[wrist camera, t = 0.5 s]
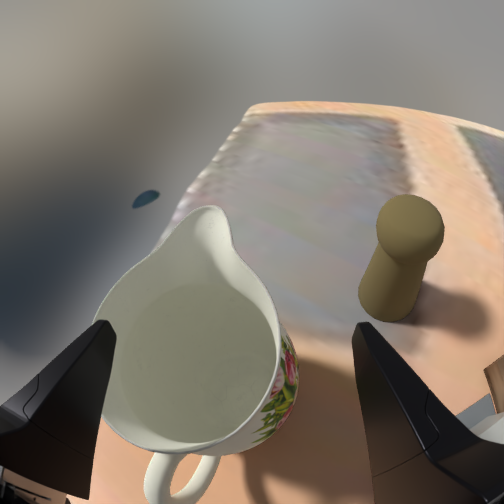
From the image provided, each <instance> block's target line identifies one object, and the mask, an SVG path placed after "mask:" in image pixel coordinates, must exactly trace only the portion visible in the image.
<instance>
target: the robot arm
mask: <svg viewBox="0 0 504 504" xmlns="http://www.w3.org/2000/svg"><path fill="white" fill-rule="evenodd" d="M116 341H117V335H116V332H115V331H114V329H113V327H112V325H111V324H110V322H109V321H108V320H102V319H99V320H97V321H96V322H95V323H94V324H93V325H91V326H90V327H89V328H88V329H87V330H86V331H85V332H84V333H82V334H81V335H80V336H79V337H78V338H77V339H76V340H74V341H73V342H72V343H71V344H70V345H69V346H68V347H67V348H65V349H64V350H63V351H62V352H61V353H60V354H59V355H58V356H57V357H56V358H54V360H52V361H51V362H50V363H49V364H48V365H47V366H46V367H45V368H44V369H43V370H42V371H41V372H40V373H39V374H37V375H36V376H35V377H34V378H33V379H32V380H31V381H30V382H29V383H28V384H27V385H26V386H24V387H23V388H22V389H21V390H20V391H18V392H17V393H16V394H15V395H13V396H12V397H11V398H10V399H9V400H7V401H6V402H5V403H4V404H2V405H1V406H0V504H71V503H70V501H69V499H68V498H66V495H67V494H69V495H72V496H75V497H79V498H82V499H86V500H89V494H90V484H91V475H92V467H93V459H94V453H95V447H96V441H97V435H98V430H99V424H100V419H101V414H102V410H103V405H104V401H105V396H106V392H107V388H108V384H109V380H110V375H111V371H112V365H113V358H114V352H115V347H116ZM352 348H353V357H354V367H355V378H356V384H357V389H358V394H359V399H360V405H361V410H362V415H363V421H364V426H365V432H366V438H367V445H368V451H369V458H370V465H371V473H372V477H373V478H372V482H373V491H374V501H375V504H504V444H501V443H496V442H492V441H488V440H484V439H482V438H480V437H478V436H477V435H475V434H474V433H473V432H472V431H470V430H469V429H468V428H467V427H466V426H465V425H464V424H463V423H462V422H461V421H460V420H459V419H458V418H457V417H456V416H455V415H454V414H452V413H451V412H450V411H449V410H448V409H447V408H446V407H445V406H444V405H443V403H442V402H441V401H440V400H439V399H438V398H437V397H436V396H435V394H434V393H433V392H432V391H431V390H430V389H429V388H428V387H427V385H426V384H425V383H424V382H423V381H422V380H421V378H420V377H419V376H418V375H417V374H416V373H415V372H414V371H413V369H412V368H411V367H410V366H409V365H408V364H407V363H406V362H405V360H404V359H403V358H402V357H401V356H400V355H399V354H398V353H397V352H396V350H395V349H394V348H393V347H392V346H391V345H390V344H389V343H388V342H387V341H386V340H385V338H384V337H383V336H382V335H381V334H380V333H379V332H378V331H377V330H376V329H375V328H374V327H373V326H372V324H371V323H369V322H359V323H357V325H356V328H355V331H354V334H353V337H352Z"/></svg>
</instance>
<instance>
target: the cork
mask: <svg viewBox="0 0 504 504" xmlns="http://www.w3.org/2000/svg"><path fill="white" fill-rule="evenodd" d="M444 228H445V227H444V224H443V220H442V217H441V214H440V213H439V211H438V210H437V208H436V207H435V206H434V205H433V204H431V203H430V202H429V201H427V200H425V199H423V198H421V197H418V196H415V195H407V194H404V195H398V196H396V197H394V198H392V199H390V200H389V201H387V202H386V204H385V205H384V206H383V207H382V208H381V210H380V212H379V215H378V219H377V224H376V229H377V237H378V241H379V243H378V245H377V248H376V250H375V252H374V254H373V257H372V259H371V261H370V263H369V265H368V268H367V270H366V272H365V274H364V276H363V278H362V280H361V283H360V286H359V294H358V297H359V300H360V303H361V305H362V307H363V308H364V310H365V311H366V312H367V313H368V314H369V315H371V316H372V317H373V318H375V319H378V320H380V321H383V322H394V321H398V320H401V319H403V318H404V317H406V316H407V315H408V314H409V313H410V312H411V310H412V309H413V307H414V305H415V302H416V299H417V296H418V293H419V289H420V286H421V283H422V279H423V276H424V273H425V269H426V265H427V262H428V261H429V260H430V259H431V258H433V257H434V256H435V255H436V254H437V252H438V250H439V249H440V247H441V245H442V243H443V239H444Z"/></svg>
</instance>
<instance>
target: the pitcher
mask: <svg viewBox="0 0 504 504" xmlns="http://www.w3.org/2000/svg"><path fill="white" fill-rule="evenodd" d="M99 319H102V320H108V321H109V322H110V324H111V325H112V327H113V329H114V331H115V332H116V335H117V341H116V347H115V352H114V358H113V365H112V371H111V375H110V380H109V384H108V388H107V392H106V396H105V401H104V405H103V410H102V414H101V417H102V418H103V419H104V421H105V422H106V423H107V424H108V425H109V426H110V428H111V429H112V430H113V431H114V432H116V433H117V434H118V435H119V436H121V437H122V438H123V439H125V440H126V441H128V442H130V443H132V444H133V445H135V446H137V447H140V448H142V449H145V450H148V451H152V452H155V454H154V456H153V458H152V459H151V461H150V464H149V466H148V469H147V472H146V474H145V479H144V493H145V496H146V498H147V500H148V502H149V503H150V504H195V503H196V502H197V501H199V499H200V498H201V497H202V496H203V494H204V493H205V491H206V490H207V488H208V486H209V485H210V483H211V481H212V479H213V477H214V475H215V473H216V470H217V467H218V465H219V462H220V459H221V456H223V455H230V454H235V453H239V452H242V451H245V450H248V449H251V448H253V447H255V446H257V445H259V444H261V443H262V442H264V441H265V440H267V439H268V438H269V437H271V436H272V435H273V434H274V433H275V432H276V431H277V430H278V429H279V428H280V427H281V426H282V425H283V423H284V422H285V421H286V419H287V418H288V416H289V414H290V412H291V411H292V408H293V406H294V403H295V401H296V397H297V393H298V386H299V366H298V361H297V356H296V352H295V349H294V346H293V344H292V341H291V339H290V337H289V336H288V334H287V332H286V330H285V328H284V327H283V325H282V324H281V323H280V321H279V318H278V313H277V310H276V308H275V305H274V302H273V299H272V297H271V295H270V294H269V292H268V290H267V288H266V286H265V285H264V284H263V282H262V281H261V279H260V278H259V277H258V276H257V274H256V273H255V272H254V271H253V270H252V269H251V268H250V267H249V266H248V265H247V264H246V263H245V262H244V261H243V259H242V258H241V257H240V255H239V254H238V253H237V251H236V249H235V247H234V245H233V238H232V232H231V228H230V224H229V221H228V218H227V216H226V214H225V212H224V210H223V209H221V208H220V207H218V206H214V205H207V206H202V207H200V208H197V209H195V210H193V211H192V212H191V213H190V214H188V215H187V216H186V217H185V218H184V219H183V220H182V221H181V222H180V223H179V224H178V225H177V226H176V227H175V228H174V229H173V230H172V232H171V233H170V234H169V235H168V237H167V238H166V239H165V241H164V242H163V243H162V244H161V245H160V246H159V247H158V248H157V249H156V250H155V251H154V252H152V253H151V254H150V255H149V256H147V257H146V258H145V259H143V260H142V261H140V262H139V263H138V264H136V265H135V266H134V267H132V268H131V269H130V270H129V271H128V272H127V273H126V274H124V275H123V276H122V278H121V279H119V281H118V282H117V283H116V284H115V285H114V287H113V288H112V289H111V290H110V291H109V293H108V294H107V296H106V297H105V299H104V300H103V302H102V304H101V305H100V308H99V309H98V311H97V313H96V315H95V318H94V320H93V322H92V325H93V324H94V323H95V322H96V321H97V320H99ZM190 453H193V454H197V455H203V456H202V459H201V461H200V464H199V466H198V468H197V470H196V472H195V473H194V475H193V477H192V478H191V480H190V481H189V482H188V484H187V485H186V486H185V487H184V488H183V489H182V490H181V491H179V492H178V493H176V494H174V495H170V485H171V481H172V478H173V475H174V472H175V470H176V468H177V466H178V464H179V462H180V461H181V460H182V459H183V458H184V457H185V456H186V455H187V454H190Z"/></svg>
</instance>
